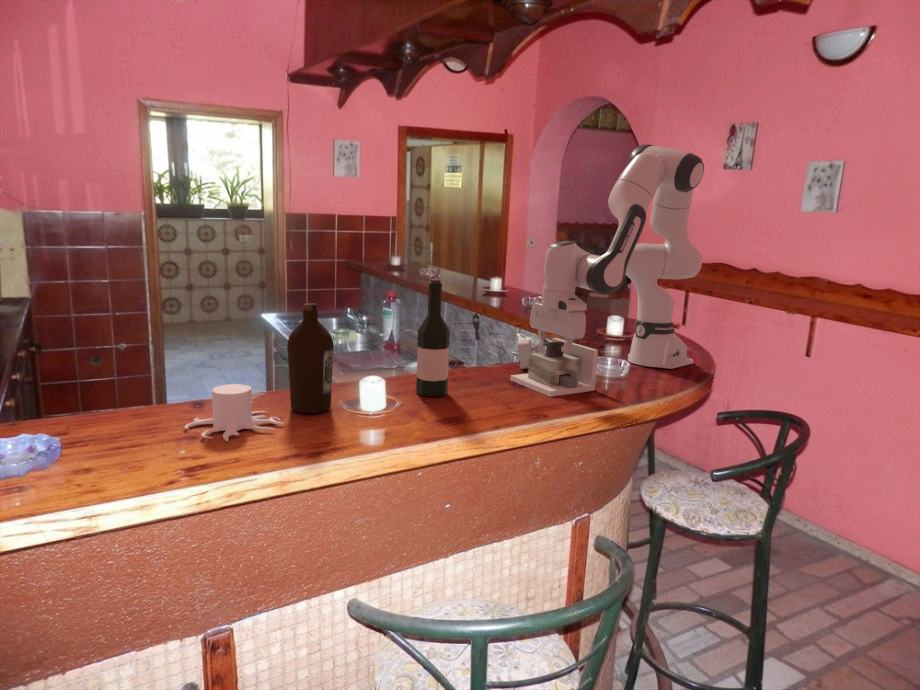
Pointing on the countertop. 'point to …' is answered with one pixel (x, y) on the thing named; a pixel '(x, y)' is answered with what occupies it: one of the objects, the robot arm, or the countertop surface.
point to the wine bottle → (433, 347)
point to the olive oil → (310, 363)
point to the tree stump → (233, 411)
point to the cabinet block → (552, 365)
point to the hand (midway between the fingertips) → (554, 349)
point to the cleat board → (549, 388)
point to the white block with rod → (528, 351)
